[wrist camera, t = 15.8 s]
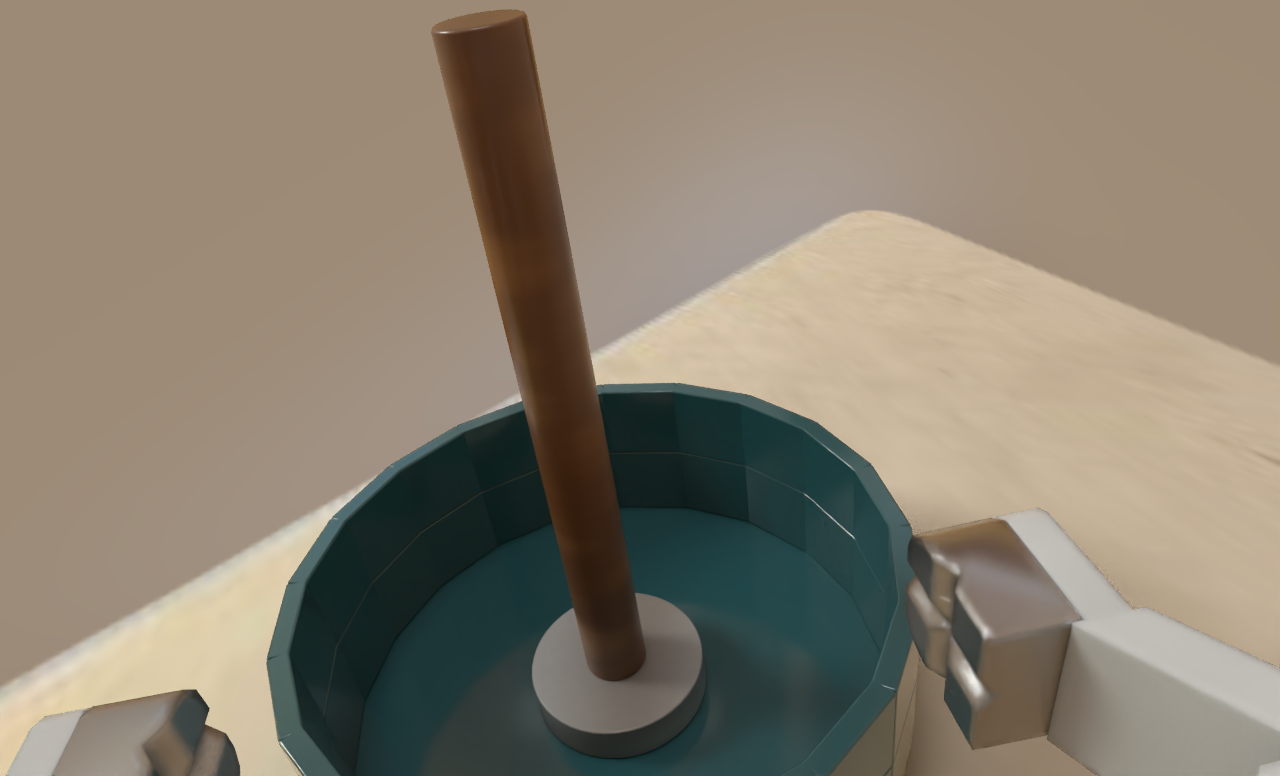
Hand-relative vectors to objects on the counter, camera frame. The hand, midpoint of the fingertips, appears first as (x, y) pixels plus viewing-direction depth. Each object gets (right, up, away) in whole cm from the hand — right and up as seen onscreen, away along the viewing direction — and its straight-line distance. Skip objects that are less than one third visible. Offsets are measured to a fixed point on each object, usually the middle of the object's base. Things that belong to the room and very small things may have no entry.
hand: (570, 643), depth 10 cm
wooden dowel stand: (0, -6, +16) cm, 18 cm away
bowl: (0, -7, +17) cm, 18 cm away
